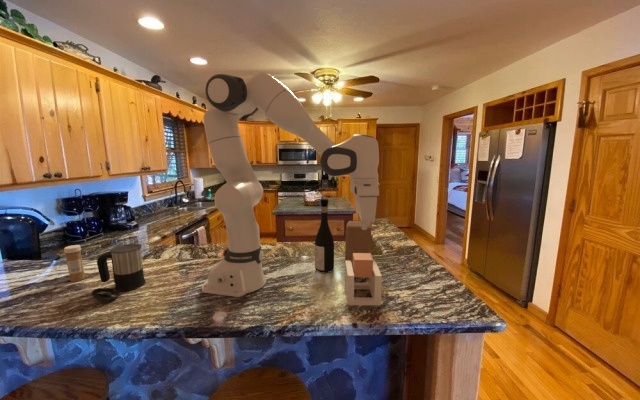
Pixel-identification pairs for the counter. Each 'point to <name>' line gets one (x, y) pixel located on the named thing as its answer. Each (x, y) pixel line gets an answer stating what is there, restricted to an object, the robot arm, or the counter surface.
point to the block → (362, 265)
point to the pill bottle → (74, 262)
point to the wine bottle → (324, 243)
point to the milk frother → (120, 271)
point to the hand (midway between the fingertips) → (363, 228)
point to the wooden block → (357, 239)
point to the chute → (363, 286)
